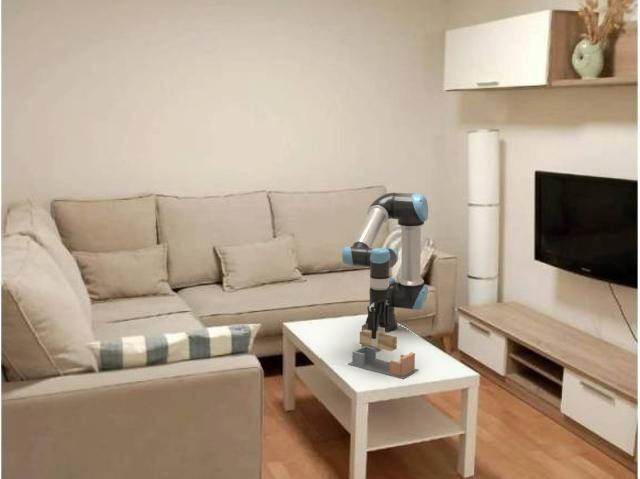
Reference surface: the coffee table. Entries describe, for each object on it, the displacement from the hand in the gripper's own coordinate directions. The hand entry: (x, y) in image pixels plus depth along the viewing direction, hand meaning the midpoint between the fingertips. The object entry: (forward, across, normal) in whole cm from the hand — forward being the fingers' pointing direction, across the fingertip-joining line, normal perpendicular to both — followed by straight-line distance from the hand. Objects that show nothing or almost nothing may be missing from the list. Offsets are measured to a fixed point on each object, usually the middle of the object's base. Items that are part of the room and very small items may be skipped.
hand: (378, 344), depth 296 cm
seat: (+9, 0, +2) cm, 9 cm away
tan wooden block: (+1, 0, 0) cm, 1 cm away
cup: (+9, -16, -14) cm, 23 cm away
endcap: (+9, 0, +12) cm, 14 cm away
